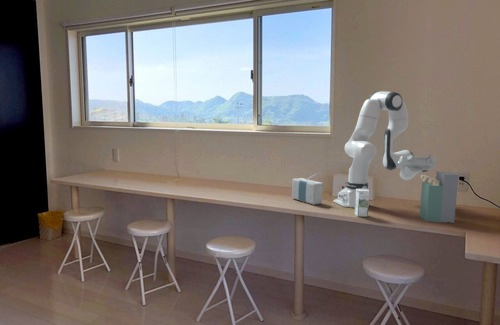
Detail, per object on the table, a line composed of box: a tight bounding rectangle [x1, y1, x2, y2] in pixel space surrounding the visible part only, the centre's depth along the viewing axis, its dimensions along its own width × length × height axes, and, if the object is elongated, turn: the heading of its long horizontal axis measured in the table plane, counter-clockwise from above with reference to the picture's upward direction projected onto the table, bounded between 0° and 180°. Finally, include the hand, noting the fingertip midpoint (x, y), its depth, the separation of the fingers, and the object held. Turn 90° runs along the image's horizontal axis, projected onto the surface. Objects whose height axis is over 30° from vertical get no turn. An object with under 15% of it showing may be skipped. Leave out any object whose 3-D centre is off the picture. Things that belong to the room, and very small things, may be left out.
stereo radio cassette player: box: [291, 171, 324, 206], centre depth 247 cm, size 21×8×20 cm, turn 33°
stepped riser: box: [419, 170, 459, 224], centre depth 210 cm, size 10×14×25 cm
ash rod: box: [420, 174, 440, 186], centre depth 214 cm, size 19×3×3 cm, turn 176°
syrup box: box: [353, 188, 370, 218], centre depth 216 cm, size 6×6×14 cm
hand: (421, 156), depth 226 cm, fingers open, 8 cm apart
